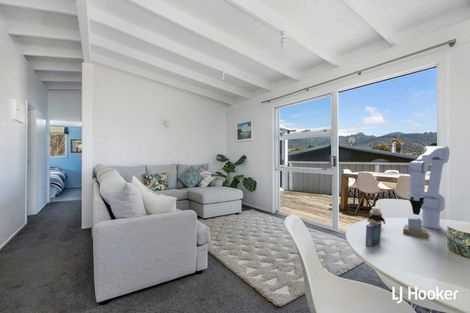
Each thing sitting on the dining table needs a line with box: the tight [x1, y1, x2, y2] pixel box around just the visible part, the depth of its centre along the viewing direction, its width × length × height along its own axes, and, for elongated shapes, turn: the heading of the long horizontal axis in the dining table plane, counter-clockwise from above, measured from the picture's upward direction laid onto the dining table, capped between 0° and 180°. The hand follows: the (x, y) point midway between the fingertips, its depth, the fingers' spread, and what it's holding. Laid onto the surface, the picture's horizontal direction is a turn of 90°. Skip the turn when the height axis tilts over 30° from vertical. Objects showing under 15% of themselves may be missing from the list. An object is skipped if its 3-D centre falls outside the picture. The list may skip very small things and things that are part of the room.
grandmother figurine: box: [367, 208, 386, 225], centre depth 113 cm, size 8×4×13 cm, turn 68°
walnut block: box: [402, 224, 429, 239], centre depth 114 cm, size 9×9×3 cm
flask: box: [365, 219, 382, 247], centre depth 100 cm, size 9×3×11 cm, turn 121°
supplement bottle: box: [368, 206, 383, 225], centre depth 124 cm, size 6×6×10 cm
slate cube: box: [407, 216, 423, 231], centre depth 114 cm, size 5×5×5 cm
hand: (416, 212), depth 114 cm, fingers open, 7 cm apart
